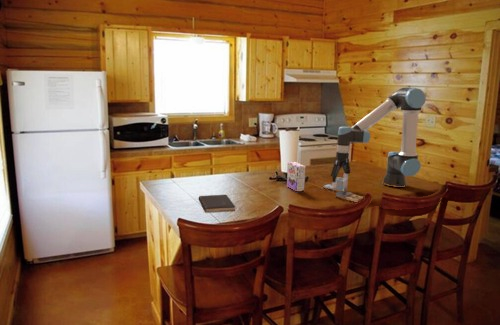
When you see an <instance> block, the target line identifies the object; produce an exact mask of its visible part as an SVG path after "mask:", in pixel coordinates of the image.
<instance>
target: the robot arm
mask: <svg viewBox="0 0 500 325" xmlns="http://www.w3.org/2000/svg"><path fill="white" fill-rule="evenodd" d="M426 100H427V97H426V94H425V92H424V91H423V90H422V89H421V88H417V87H401V88H399V89H397V90H396V91H394V92H393V93H391V94H390V95H389V96H388V97H387V98H386V99H385V101H384V102H382V103H381V104H380V105H379V106H377V107H376V108H375V109H373V110H371V112H369V113H368V114H367V115H365V116H364V117H363V118H362V119H360V120H358V121H357V123H355V124H354V125H352V126H339V128H338V131H337V143H336V153H335V158H336V159H337V160H334V162H333V163H334V164H333V165H332V166H333V167H332V170H331V174H330V177H332V180H331V185H332V187H335V188H336V186H337V178H338V174H339V172H340V170H341V169H342V170H343V171H344V173H343V175H342V176H343V177H342V178H345V179H348V180H349V175H350V174H351V166H350V158H349V157H350V153H349V152H350V146H351V145H350V144H351V143H352V144H353V143H357V144H367V143H369V142H370V139H371V133H370V131H368V130H369V129H370V128H371V127H373V126H374V125H375V124H377V123H378V122H380V121H381V120H382V119H384V118H385V117H386V116H388V115H389V114H390V113H391V112H393V111H397V110H398V109H400V111H401V112H402V113H403V114H402V128H401V144H400V151H389V152H388V154H387V162H386V173H385V176H384V177H383V180H382V184H383V183H386V184H389V185H396V186H404V185H406V184H407V183H408V182H407V178H406V177H413V176H415V175H417V174H418V173H419V171H420V170H421V167H422V166H421V165H422V164H421V162H420V160H419V159H418V158H419V153H417V150H416V149H417V139H418V138H417V137H418V122H419V113H420V112H422V107H423V106H424V105H425V103H426ZM406 186H407V185H406Z"/></svg>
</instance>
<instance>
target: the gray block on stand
mask: <svg viewBox="0 0 500 325" xmlns="http://www.w3.org/2000/svg"><path fill="white" fill-rule="evenodd" d="M353 194H354V193H353V192H350V191H348V184H347V180H346V179H344V180H343V190H342V191H340V192H335V197H336V196H337V197H341V198H346V197H348V196H351V195H353Z"/></svg>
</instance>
